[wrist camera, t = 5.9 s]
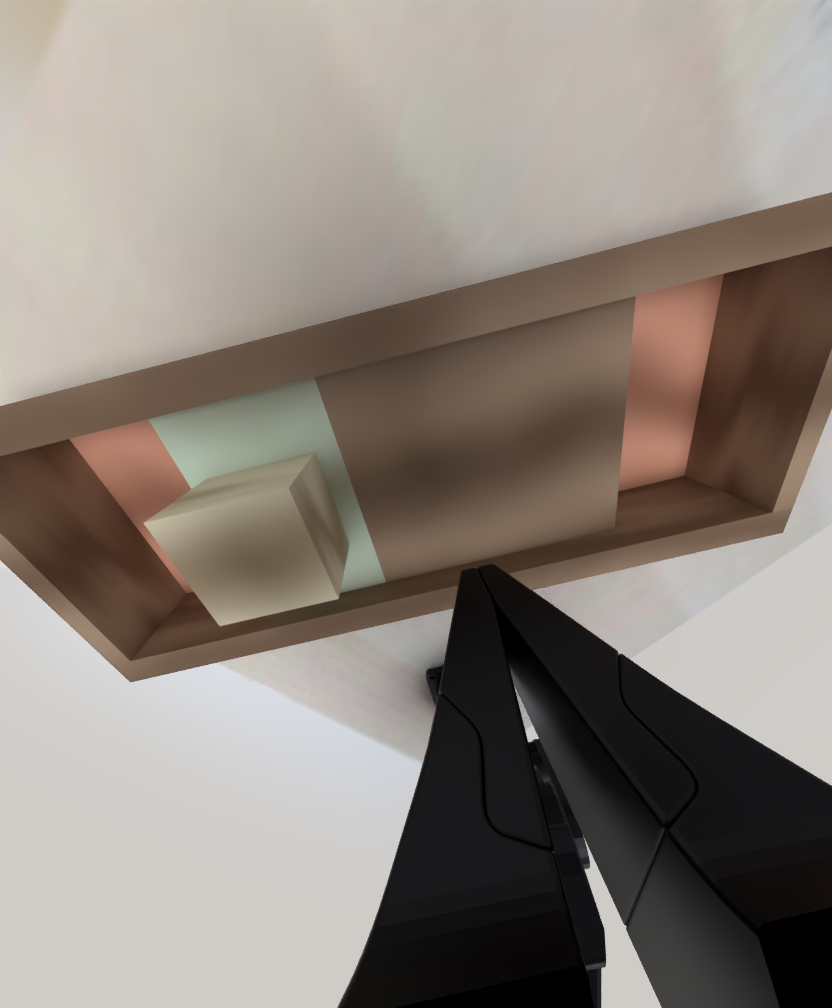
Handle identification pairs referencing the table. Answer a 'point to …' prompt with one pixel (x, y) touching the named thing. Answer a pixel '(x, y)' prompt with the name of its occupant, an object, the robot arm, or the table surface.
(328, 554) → the maple block
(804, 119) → the table surface
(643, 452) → the tray
